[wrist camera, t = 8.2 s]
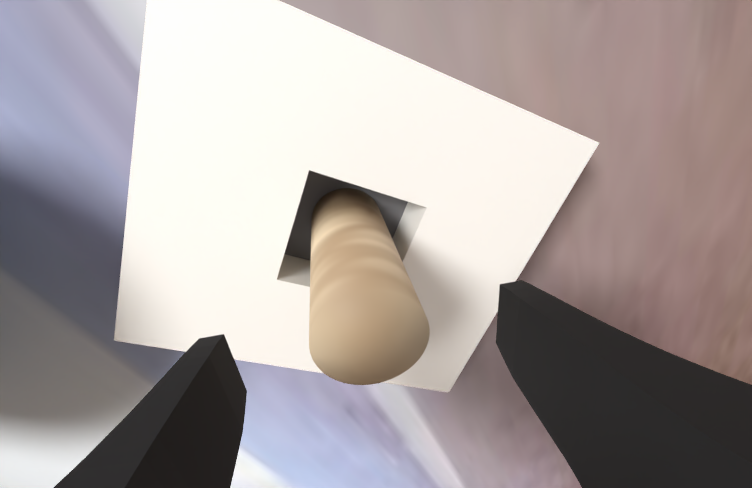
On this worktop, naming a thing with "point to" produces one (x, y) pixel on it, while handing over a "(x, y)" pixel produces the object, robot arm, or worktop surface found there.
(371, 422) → the worktop surface
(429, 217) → the socket plate
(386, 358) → the peg
